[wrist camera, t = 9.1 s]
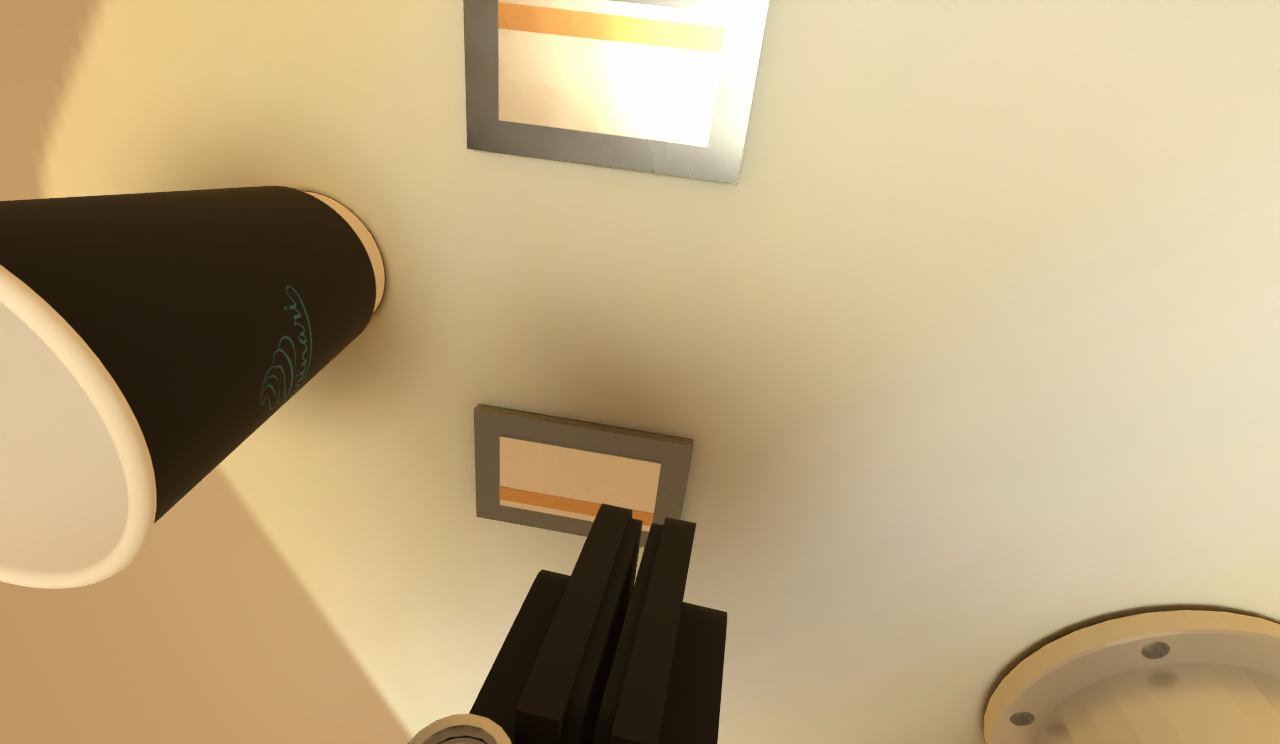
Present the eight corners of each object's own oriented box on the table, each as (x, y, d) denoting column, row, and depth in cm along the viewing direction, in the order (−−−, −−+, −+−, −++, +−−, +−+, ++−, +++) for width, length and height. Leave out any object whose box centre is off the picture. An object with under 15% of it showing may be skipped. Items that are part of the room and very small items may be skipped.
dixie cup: (165, 174, 20) (-388, 261, 10) (366, 107, 18) (-78, 135, 8) (280, 385, 23) (-61, 607, 13) (464, 346, 21) (223, 574, 11)
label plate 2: (693, 440, 22) (692, 448, 21) (675, 545, 24) (673, 554, 23) (478, 404, 22) (472, 411, 22) (480, 510, 24) (475, 518, 24)
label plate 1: (772, -22, 15) (773, -25, 15) (737, 181, 18) (737, 184, 17) (468, -54, 16) (460, -57, 15) (472, 147, 18) (465, 149, 18)
